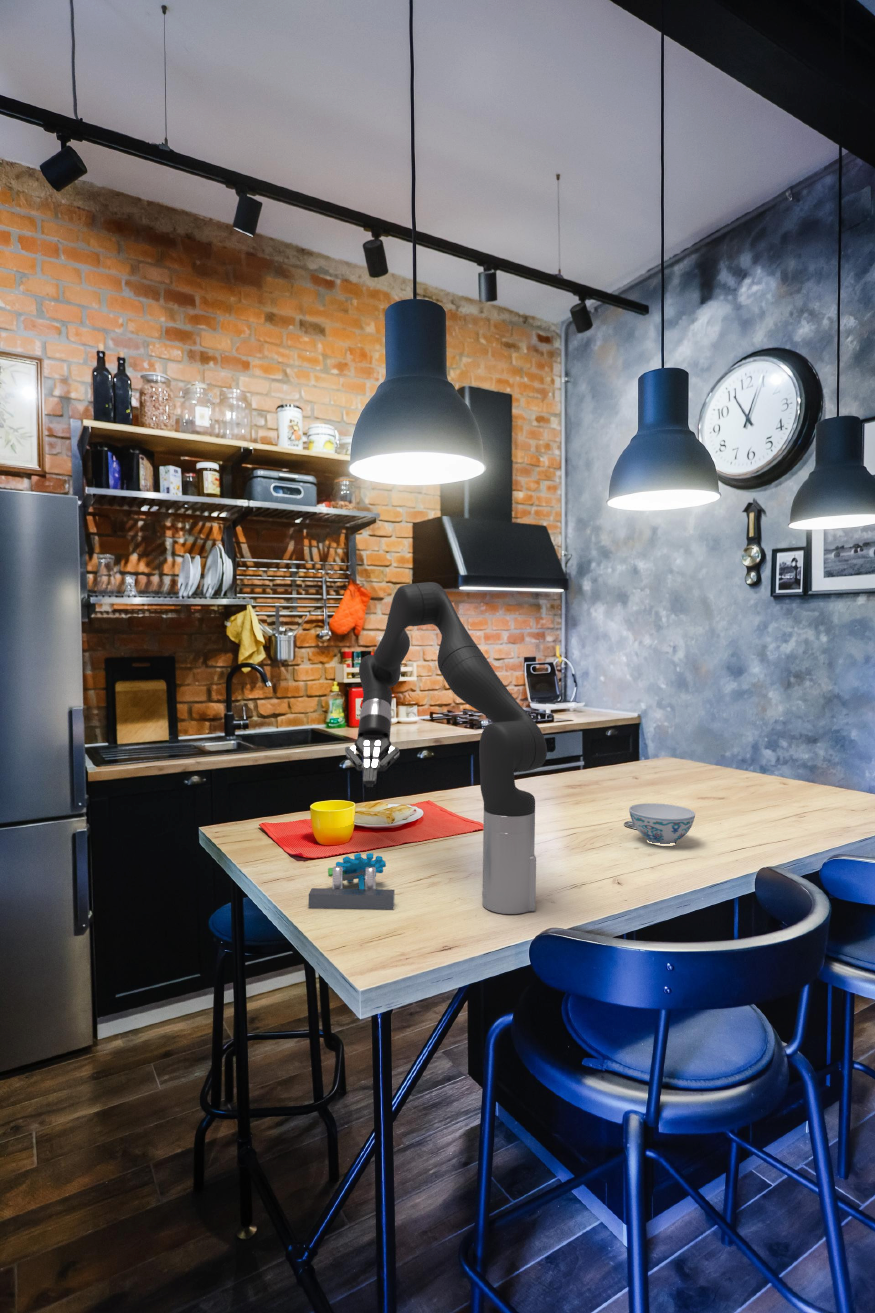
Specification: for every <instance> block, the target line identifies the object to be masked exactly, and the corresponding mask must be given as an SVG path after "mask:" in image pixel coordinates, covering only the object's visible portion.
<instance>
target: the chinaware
mask: <svg viewBox="0 0 875 1313" xmlns="http://www.w3.org/2000/svg"><path fill="white" fill-rule="evenodd" d="M628 810H629V816H630V819H631V822H632V824H633V826H634V827H635V829H636V831H637V832H638V833H639V834H640V835H642V836H643V838H644V839H645V838H646V839H647V840H648V841H649V842H652V843H660V844H670V843H675V842H676V843H677V841H680V840H681V839H683V838H684V837H686V835H687V834H688V833H689V832H690V830H691V829H692V827H693V824H694V822H695V817H696V812H695V811H694V810H692V809H690V808H687V807H685V806H680V805H677V804H676V805H675V804H669V803H666V804H665V803H657V802H656V803H653V802H649V803H648V802H646V803H637V804H633V805H631V806H629V808H628Z"/></svg>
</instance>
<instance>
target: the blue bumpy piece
mask: <svg viewBox="0 0 875 1313" xmlns="http://www.w3.org/2000/svg"><path fill="white" fill-rule="evenodd" d="M365 856H366V858H364V857H363V856H362V853H360V852H358V853H355V854H354V855H353V857H354V858H353V857H350V856H348V855H347V856H344V857H342V861H336V863H335V866H341V867H343V882H345V881H346V882H354V880H358V889H365V877H366V867H375V878H376V877H377V874H383V873H384V868H386V867H387V863H386V861H385V860H383V859H384V858H383V856H382V855H376V856H375V857H374V853H373V852H370V853H369V852H368V853H366V854H365ZM374 858H375V859H374ZM327 875H328V876H327V877H328V878H329V877H333V867H328V868H327Z"/></svg>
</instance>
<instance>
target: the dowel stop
mask: <svg viewBox="0 0 875 1313" xmlns="http://www.w3.org/2000/svg"><path fill="white" fill-rule="evenodd" d="M332 868H333V876H332V888H331V887H330V888H327V887H326V888H324V887H323V888H322V887H321V888H320V887H318V888H317V887H313V888H310V891H309V892H308V908H309V909H334V910H335V909H336V910H337V909H338V910H339V909H340V910H341V909H343V910H345V909H346V910H350V909H351V910H391V911H392V910H394V908H395V898H396V897H395V894H396V893H395V889H388V888H387V889H385V888H383V889H378V888H377V889H376V877H375V867H366V876H365V880H364V887H365V889H359V888H343V882H344V881H343V867H341V866H336V865H334V866H332Z"/></svg>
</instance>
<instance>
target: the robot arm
mask: <svg viewBox="0 0 875 1313" xmlns="http://www.w3.org/2000/svg"><path fill="white" fill-rule="evenodd" d="M386 621H387V622H386V623H385V624H386V625H385V629H384V633H383V636H382V637H381V639H380V641H379V643H378V645H377V647H376V649H375V651H374V655H373V654H368V655H366V656H364V657H362V659H361V660H360V662H359V667H358V674H359V679H360V684H361V688H362V705H361V709H360V713H359V721H358V722H359V723H358V730H357V736H356V737H357V738H356V740H355V741H354V744H353V745H352V746H346V747H344V751H345V756H346V758H347V759H348V760H349V762H351V764H352V765H353V766H354V767H355V769H356V770H357V771H359V772H361V771H362V772H363V774H362V776H363V777H362V782H363V784H364V785H365V787H366V788H373V787H374V785H376V783H377V777H378V772H380V771H381V772H385V771H386V770H387V769H388V768H389V767H390V766H391V765H393V763H394V762H395V761H397V759H398V758H400V748H399V747H397V746H396V747H394V746H392V741H391V740H390V739H391V728H392V722H393V721H392V704H393V703H392V701H393V700H392V699H393V692H392V690H391V688H392V687H394V686H396V685H397V684H398V683H399V681H400V679H401V672H402V670H401V668H402V662H403V661H404V659H405V658H406V656H407V654H408V653H409V651H410V647H411V641H410V639H411V638H410V636H409V634H408V633H407V631H406V629H407V628H409V627H419V626H420V627H421V626H426V625H427V626H428V625H434V626H435V627H436V628H437V629H438V630H439V633H440V635H441V640H440V644H439V648H438V652H437V659H436V660H437V667H438V671H439V672H440V674H441V676H442V678H443V679H444V681H445V682H446V684H447V686H448V688H449V689H450V690H451V692H453V694H454V695H455V696H456V697H457V698H459V699H460V700H461V701H462V702H464V703H465V704H467V705H469V706H470V707H471V708H473V709H475V710H476V711H478V712H479V713H481V714H482V715H484V716H485V717H486V718H487V719H488V720H490V721H491V723H488V724H487V725H485V727H483V728H484V729H483V730H482V731H481V734H480V739H479V744H478V745H479V746H478V747H479V749H478V754H479V758H478V760H479V779H480V780H479V781H480V783H479V784H480V794H481V797H482V800H483V827H482V828H483V832H482V833H483V838H482V840H483V841H482V842H483V844H482V891H481V894H482V897H481V898H482V901H481V903H482V907H484V908H485V909H486V910H489V911H491V912H494V913H498V914H504V915H505V914H506V915H517V914H518V915H519V914H524V913H527V912H535V911H536V894H537V892H536V890H537V889H536V887H537V882H536V881H537V858H536V854H535V846H536V845H535V844H536V843H535V842H536V841H535V838H536V835H535V834H536V829H535V828H536V798H535V796H534V795H533V794H532V793H530V792H528V791H525V790H522V789H519V788H518V787H516V781H515V780H516V779H515V773H523V772H525V773H526V772H530V771H534V770H536V769H537V770H538V769H539V768H540V767H542V766H543V765H544V763H545V762H546V760H547V755H548V748H547V747H548V746H547V742H546V741H547V740H546V739H545V736H544V734H543V732H542V730H541V728H540V726H539V725H538V724H537V723H536V722H535V721H534V719H533V718H532V717H531V716H530V714H528V712H527V711H526V710H525V709H524V707H523V706H522V705H521V704H520V703H519V702H518V701H517V700H516V698H515V697H514V696H513V695H512V694H511V692H510V691H509V689H508V688H507V687H506V685H505V684H504V683H503V681H502V680H501V679H500V677H499V676H498V674H497V673H496V672H495V670H494V668H493V667H492V665H491V663H490V662H489V661H488V659H487V657H486V656H485V654H484V653H483V651H482V650H481V649H480V647H479V646H478V645H477V643H476V642H475V641H474V639H473V638H472V636H471V634H470V633H469V632H468V629H466V627H465V625H464V624H463V622H462V621H461V619H460V617H459V614H458V613H457V610H456V609H455V607H454V605H453V603H452V602H451V600H450V598H449V596H448V593H447V592H446V591H445V588H443V586H441V585H440V584H439V583H437V582H435V581H434V582H433V581H432V582H431V581H428V582H426V581H425V582H418V583H417V582H415V583H408V584H407V583H406V584H402V585H400V586H399V587H397V589H396V591H395V593H394V595H393V596H392V600H391V605H390V608H389V612H388V616H387V620H386ZM357 753H358V754H359V755H360V757H361V758H362V759H363V762H362V760H361V759H360V757H359V756H358V755H357ZM382 758H383V759H382ZM371 760H372V761H371Z"/></svg>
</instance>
